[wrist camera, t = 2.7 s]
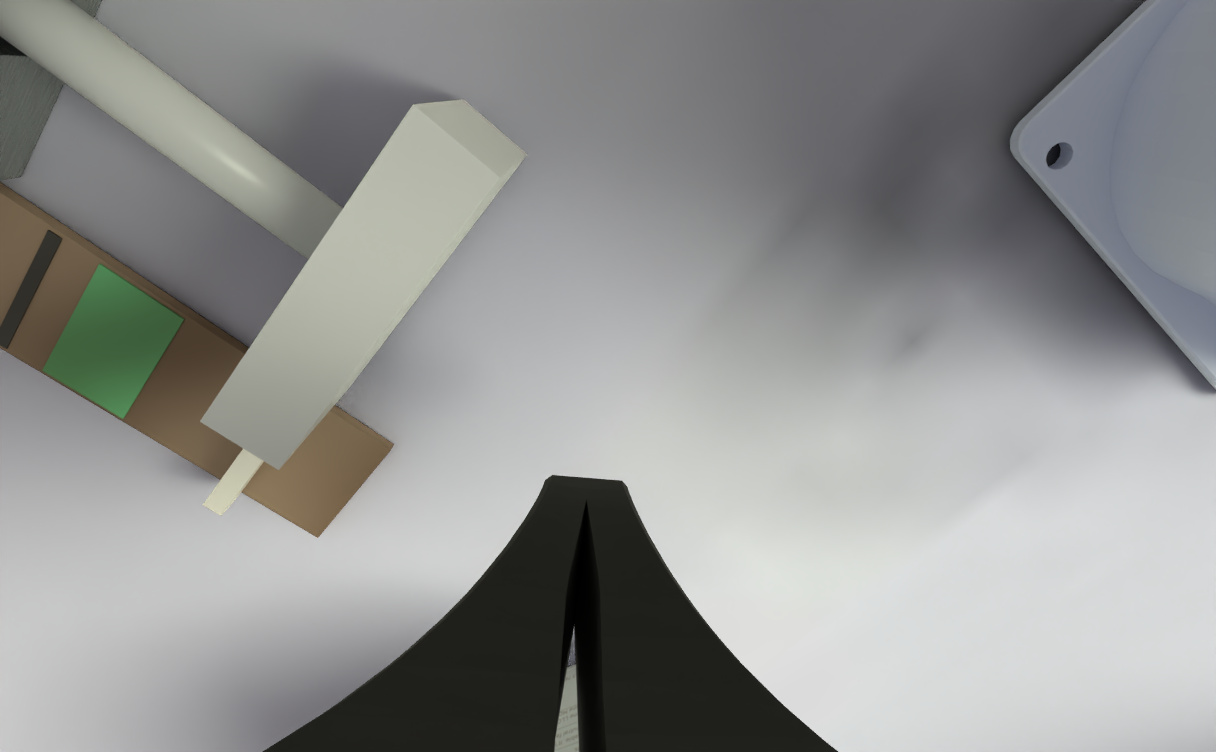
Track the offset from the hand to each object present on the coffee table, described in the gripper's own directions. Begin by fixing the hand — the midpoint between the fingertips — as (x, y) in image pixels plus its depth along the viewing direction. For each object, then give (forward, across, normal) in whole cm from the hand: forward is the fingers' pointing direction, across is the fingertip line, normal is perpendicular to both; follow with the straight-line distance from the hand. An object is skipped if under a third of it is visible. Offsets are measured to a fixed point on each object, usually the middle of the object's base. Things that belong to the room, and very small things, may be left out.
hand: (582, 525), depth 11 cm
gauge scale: (+5, +10, 0) cm, 12 cm away
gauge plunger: (+5, +9, -4) cm, 11 cm away
